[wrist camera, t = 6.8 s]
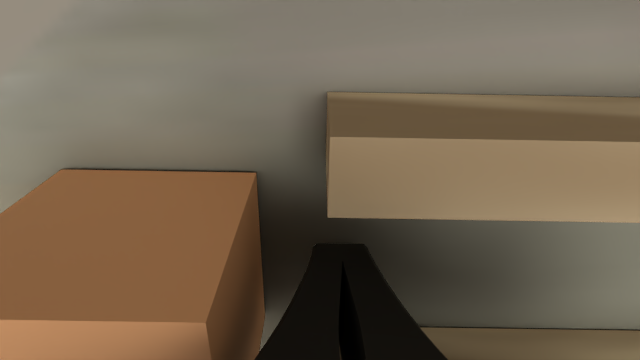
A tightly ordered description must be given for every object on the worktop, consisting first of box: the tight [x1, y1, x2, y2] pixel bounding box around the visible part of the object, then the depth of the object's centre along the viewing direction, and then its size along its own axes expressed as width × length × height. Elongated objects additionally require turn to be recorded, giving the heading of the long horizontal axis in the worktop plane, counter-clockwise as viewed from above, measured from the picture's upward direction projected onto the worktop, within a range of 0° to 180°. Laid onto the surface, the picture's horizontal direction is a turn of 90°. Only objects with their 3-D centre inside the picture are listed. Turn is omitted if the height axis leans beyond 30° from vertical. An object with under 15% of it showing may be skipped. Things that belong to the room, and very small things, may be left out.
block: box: [0, 169, 265, 360], centre depth 9 cm, size 5×5×5 cm
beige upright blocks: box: [326, 92, 640, 360], centre depth 10 cm, size 9×11×3 cm
